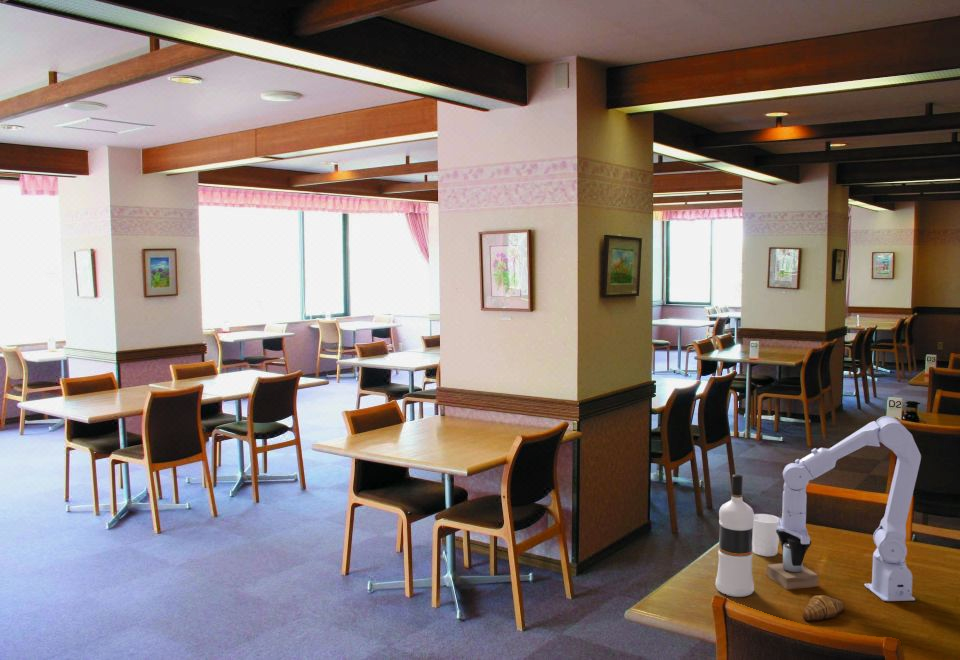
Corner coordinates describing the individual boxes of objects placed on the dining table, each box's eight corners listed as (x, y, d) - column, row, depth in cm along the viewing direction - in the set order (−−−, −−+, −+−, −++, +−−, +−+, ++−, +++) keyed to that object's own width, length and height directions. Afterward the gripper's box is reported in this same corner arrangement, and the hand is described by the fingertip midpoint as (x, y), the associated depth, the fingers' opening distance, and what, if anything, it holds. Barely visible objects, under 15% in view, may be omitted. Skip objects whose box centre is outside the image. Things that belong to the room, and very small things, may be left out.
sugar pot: (805, 571, 204) (806, 547, 203) (787, 572, 204) (788, 548, 203) (796, 564, 209) (797, 540, 208) (779, 564, 208) (780, 541, 208)
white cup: (775, 547, 230) (776, 514, 229) (782, 558, 222) (783, 523, 221) (747, 546, 231) (748, 513, 230) (753, 557, 223) (754, 522, 222)
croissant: (828, 603, 194) (829, 584, 193) (854, 614, 188) (855, 594, 187) (792, 616, 187) (792, 596, 187) (816, 628, 181) (817, 607, 181)
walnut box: (817, 586, 203) (818, 575, 203) (786, 589, 201) (786, 578, 201) (796, 572, 212) (797, 561, 212) (766, 575, 210) (766, 564, 210)
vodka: (713, 594, 198) (715, 477, 196) (717, 580, 207) (720, 468, 204) (752, 601, 195) (755, 481, 192) (755, 586, 203) (758, 472, 200)
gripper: (767, 501, 212) (766, 551, 213) (791, 520, 197) (789, 572, 199) (793, 501, 212) (791, 550, 213) (818, 519, 198) (816, 572, 199)
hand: (792, 561), depth 206 cm, fingers closed on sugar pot, 5 cm apart
